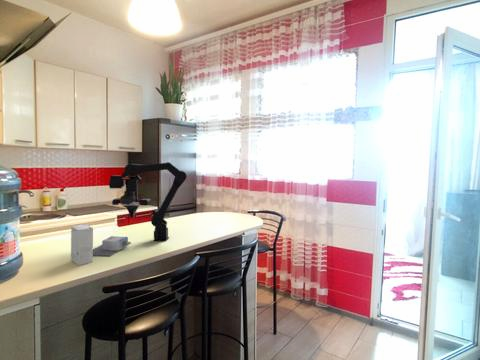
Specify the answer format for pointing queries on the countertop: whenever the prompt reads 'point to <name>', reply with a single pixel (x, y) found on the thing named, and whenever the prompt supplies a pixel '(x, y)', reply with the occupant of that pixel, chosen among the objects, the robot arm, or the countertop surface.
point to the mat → (104, 251)
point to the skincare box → (81, 244)
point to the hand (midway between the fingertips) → (132, 218)
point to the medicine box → (114, 243)
